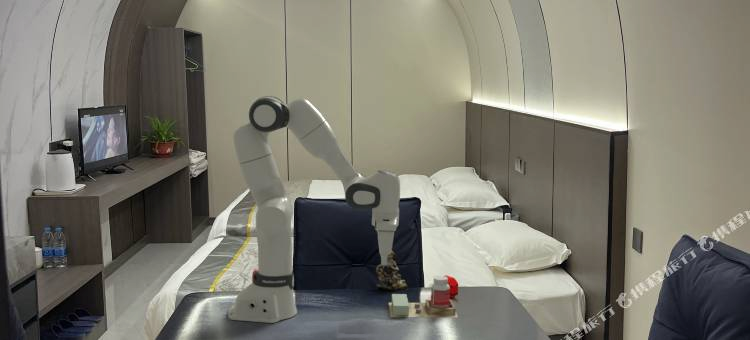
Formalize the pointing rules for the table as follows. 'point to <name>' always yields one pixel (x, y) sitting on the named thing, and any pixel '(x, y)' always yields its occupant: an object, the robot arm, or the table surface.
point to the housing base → (427, 310)
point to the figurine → (390, 276)
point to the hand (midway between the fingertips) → (383, 260)
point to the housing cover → (400, 304)
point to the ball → (452, 286)
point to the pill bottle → (440, 292)
